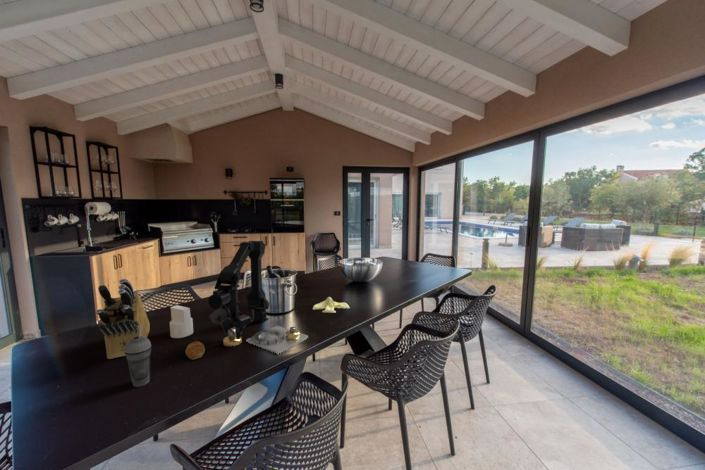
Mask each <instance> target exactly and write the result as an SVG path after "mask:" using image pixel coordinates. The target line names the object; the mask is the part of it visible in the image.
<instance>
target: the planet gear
mask: <svg viewBox="0 0 705 470" xmlns="http://www.w3.org/2000/svg"><path fill="white" fill-rule="evenodd" d="M227 335H228V336H227ZM227 335H226V336H225V337H224V338H223V346H224V347H226V346H227V348H228V347H231V348H232V346H233V347H236V345H237V346H238V345H241V343H242V341H243V340H242V336H241V337H240V339H238V340H237V337H236V331H235V328H234V327H229V329H228V334H227Z"/></svg>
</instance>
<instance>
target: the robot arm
mask: <svg viewBox="0 0 705 470" xmlns="http://www.w3.org/2000/svg"><path fill="white" fill-rule="evenodd" d="M265 251H266V243H264V241H262V240H249V241H242V242H240V244H239V247H238V249H237V251H236V252H235V254H234V256H233V258H232V260H231V261H230V263H229V264H228V265H226V266H224V267H223V269H222V270H221V271H220V272H219V274H218V277H217V280H216V283H215V285H214V290H213V291H212V294H211V295H210V296H209V297H208V304H209V306H210V308H212V309H215V310H213V312H212V313H210V314H209V319H210V321H211V323H212V324H216V325H220V326H221V328H222V329H223V332H224V335H225V336H227V335H228V329H230V328H231V327H232V328H235V331H236V337H237V340H238V339H240V337H241V338H242V334H243V332H244V330H245V328H246V326H247V325H249V324H251V323H254V324H257V325H258V324H261V323H264V322H267V321H269V318H268V317H267V311H266V310H269V308H270V302H269V300H268V299H267V298H266V297H267V296H266V292H265V291H264V290H263V288H262V286H263V283H262V281H263V280H262V278H263V277H262V258H263V257H264V255H265V253H266V252H265ZM247 258H249V259H250V290H249V292H248V293H247V294H246V298H247V299H246V304H247V308H248V310H251V312H252V317H251V316H249V315H247V314H242V315H241V313H242V311H240V310H239V306H240V305H241V301H239V296H238V295H239V294H238V288H240V284H239V282H240V280H241V276H242V272H241V270H242V268H243V266H244V264H245V262H247V261H246V260H247ZM231 320H232V325H231Z"/></svg>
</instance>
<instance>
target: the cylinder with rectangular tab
mask: <svg viewBox="0 0 705 470" xmlns="http://www.w3.org/2000/svg"><path fill="white" fill-rule="evenodd" d="M170 314H171V315H170V317H171V320H170V321H169V335H170V337H171V338H172V339H181V338H185V337H189V336H191V335H193V333H194V323H193V322H194V321H193V320H194V319H193V317H191V308H190V307H186V306H182V305H179V304H177V305H173V306H171V307H170Z"/></svg>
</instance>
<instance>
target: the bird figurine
mask: <svg viewBox="0 0 705 470" xmlns="http://www.w3.org/2000/svg"><path fill="white" fill-rule="evenodd" d="M335 308H337V309H350V308H351V307H350V306H349V304H348V303H346V302H337V301H334V300H333V298H332V297H330V296H328V297H326V299H325V300H323V301H321V302H319V303H315V304H314V305H313V307H312V310H315V311H316V310H322V313H329V314H330V313H333V314H334V313H337V311H336V310H335Z"/></svg>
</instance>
